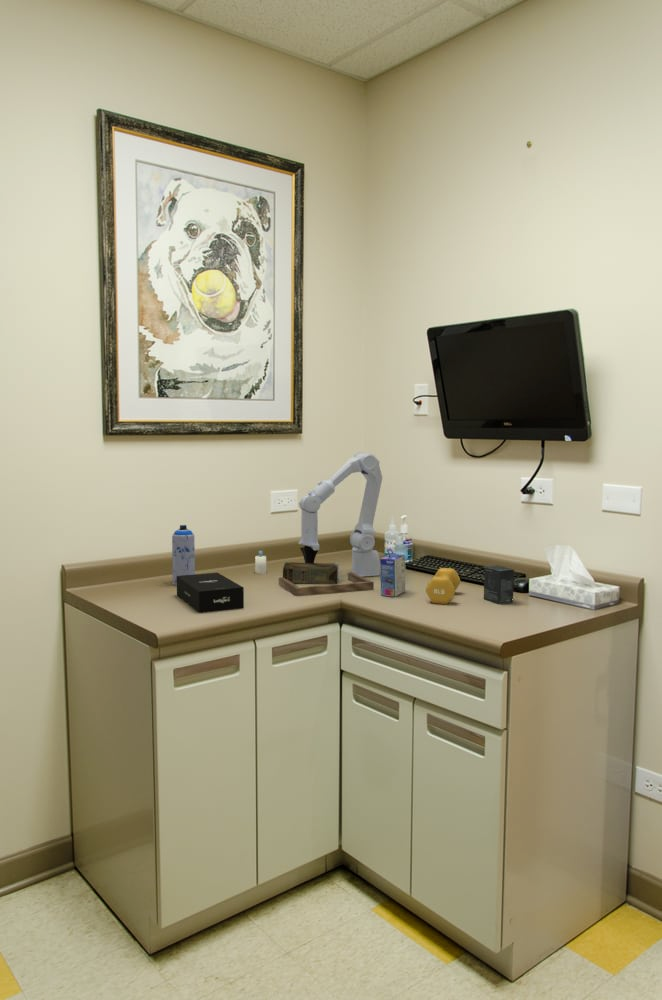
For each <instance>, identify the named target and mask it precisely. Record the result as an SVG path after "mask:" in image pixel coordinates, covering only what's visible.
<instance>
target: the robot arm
mask: <svg viewBox="0 0 662 1000" xmlns="http://www.w3.org/2000/svg"><path fill="white" fill-rule="evenodd" d="M354 473H355V474H356V473H361V474H362V475H363V477H364V479H366V483H365V488H364V491H363V492H364V494H363V498H362V503H361V508H360V512H359V517H358V523H356V525H355V526H354V529H353V532H352V533H351V534H350V537H349V542H350V545H351V546H352V548H351V572H352V573H355V574H357V575H359V576H361V577H363V578H366V577H374V576H375V577H376V576H378V577H379V576H381V573H380V555H379V551H378V550H376V549H374V547H375V544H376V541H375V529H374V521H375V516H376V510H377V506H378V502H379V501H378V500H379V497H380V491H381V488H382V481H383V475H382V470H381V467H380V460H379V459H378V457H376V455H375V454H373V453H370V452H369V453H365V452H357V453H355V454H354V455H353V456H351V457H350V458H349V459H348V460H346V462H345V463H344V464H343V466H341V467H340V468H339V469H338V470H337V471H336V472H335V473H334V474H333V475H332V476H331V477H330V478H329V479H328V480H327V479H323V480H319V481H318V482H317V485H316V486H315V487H314V488H313V489H312V490H309V491H308V492H307V493H308V494H305V495H303V496H302V497H301V498H300V500H299V502H298V505H299V508H300V510H301V517H300V518H301V524H300V525H301V529H300V530H301V535H300V536H301V538H299V541H298V542H297V544H298V545H303V547H300V548H299V549H300V551H301V553H302V556H303V559H304V563H315V559H316V557H317V554H318V552H319V551H320V544H319V541H318V539H319V538H318V532H319V531H318V527H319V526H318V521H319V520H318V519H319V518H318V517H319V516H318V511H319V510H320V508H321V505H322V504H323V503H324V502H325V501H326V500H327V499H328V498H329V497H331V495H333V494H334V493H335V490H336V487H337V486H338V485H340V483H342V482H343V481H344V480H345V479H346V478H347V477H349V476H350V475H351V474H354Z"/></svg>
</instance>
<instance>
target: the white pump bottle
mask: <svg viewBox="0 0 662 1000" xmlns="http://www.w3.org/2000/svg"><path fill="white" fill-rule="evenodd" d="M263 554H264V550H258V555H255V557H254V559H255V560H254V563H255V564H254V569H255V570H254V573H255V574H258V575H265V574H266V573H267V555H263Z"/></svg>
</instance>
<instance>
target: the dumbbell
mask: <svg viewBox="0 0 662 1000" xmlns="http://www.w3.org/2000/svg"><path fill="white" fill-rule="evenodd" d="M460 584H461V579H460V577H459V574H458V572H457V571H456V570H455V569H454V568H451V567H450V568H449V567H441V568H438V570H437V572H436V573H435V574H434V576H433V577H432V578H431V580H430V581H429V583H428V584H427V586H426V588H425V593H426V595H427V597H428V598H429V600H430V601H431V603H433V604H437V605H447V604H449V603H450V601H451V600H452V598H453V597H454V596H455V593H456V591H457V589H458V587H459V586H460Z"/></svg>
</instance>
